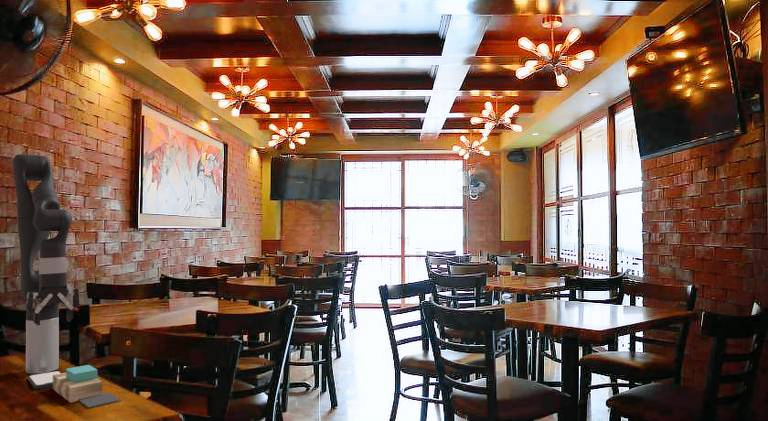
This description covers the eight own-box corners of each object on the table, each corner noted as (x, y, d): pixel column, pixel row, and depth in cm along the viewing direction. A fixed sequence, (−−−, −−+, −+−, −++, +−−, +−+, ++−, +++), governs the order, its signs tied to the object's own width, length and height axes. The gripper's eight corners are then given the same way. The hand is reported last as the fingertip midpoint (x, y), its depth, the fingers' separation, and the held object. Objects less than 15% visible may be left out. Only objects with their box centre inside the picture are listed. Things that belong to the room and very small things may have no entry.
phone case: (27, 380, 167) (34, 391, 155) (27, 375, 167) (34, 385, 155) (59, 375, 173) (69, 385, 161) (59, 370, 173) (69, 379, 161)
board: (52, 388, 156) (52, 375, 156) (82, 382, 162) (82, 369, 162) (70, 402, 144) (70, 387, 144) (102, 395, 149) (102, 381, 149)
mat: (78, 400, 145) (78, 399, 145) (109, 393, 151) (109, 392, 151) (88, 408, 139) (88, 407, 139) (121, 401, 144) (121, 399, 144)
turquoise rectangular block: (66, 377, 154) (66, 368, 154) (88, 373, 158) (88, 364, 158) (74, 383, 148) (74, 374, 148) (97, 378, 152) (97, 369, 152)
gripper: (74, 270, 176) (75, 319, 176) (23, 273, 166) (24, 325, 166) (81, 270, 171) (82, 321, 170) (29, 273, 161) (29, 327, 160)
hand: (53, 323), depth 168 cm, fingers open, 8 cm apart
